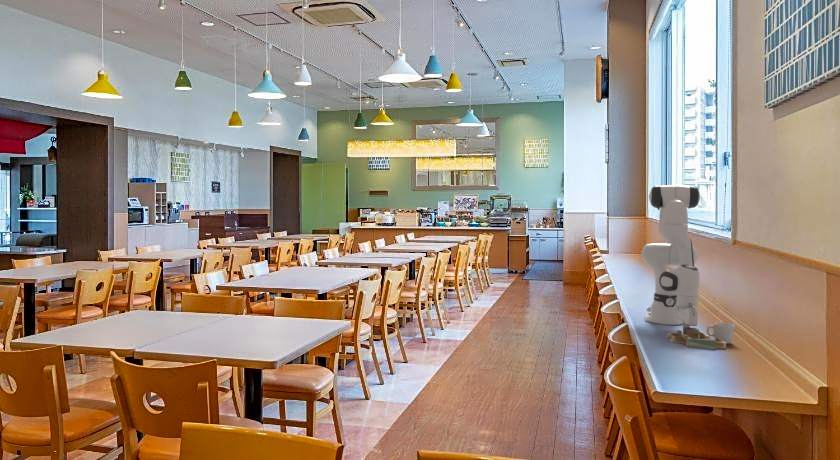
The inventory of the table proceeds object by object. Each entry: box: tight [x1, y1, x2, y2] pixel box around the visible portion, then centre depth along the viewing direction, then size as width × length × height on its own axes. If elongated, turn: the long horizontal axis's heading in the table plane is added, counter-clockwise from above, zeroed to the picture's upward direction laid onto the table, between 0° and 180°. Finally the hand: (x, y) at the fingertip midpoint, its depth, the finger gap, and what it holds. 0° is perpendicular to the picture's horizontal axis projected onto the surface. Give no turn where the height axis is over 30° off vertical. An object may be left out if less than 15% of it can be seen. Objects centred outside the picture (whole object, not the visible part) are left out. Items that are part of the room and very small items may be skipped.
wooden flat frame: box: [666, 329, 727, 350], centre depth 272 cm, size 18×19×4 cm
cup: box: [706, 322, 736, 345], centre depth 276 cm, size 11×8×8 cm
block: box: [682, 326, 700, 339], centre depth 279 cm, size 5×5×5 cm
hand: (685, 332), depth 287 cm, fingers closed
